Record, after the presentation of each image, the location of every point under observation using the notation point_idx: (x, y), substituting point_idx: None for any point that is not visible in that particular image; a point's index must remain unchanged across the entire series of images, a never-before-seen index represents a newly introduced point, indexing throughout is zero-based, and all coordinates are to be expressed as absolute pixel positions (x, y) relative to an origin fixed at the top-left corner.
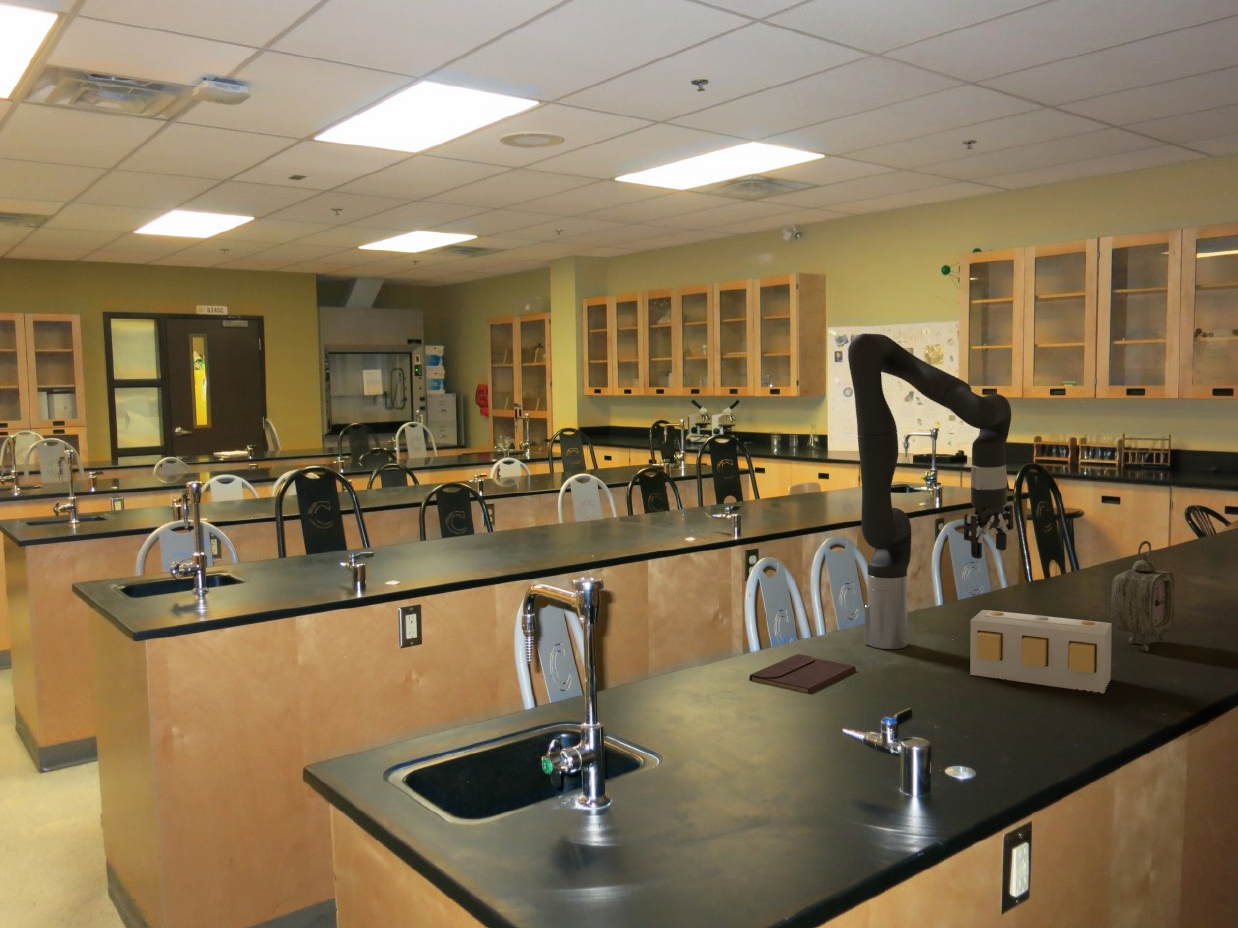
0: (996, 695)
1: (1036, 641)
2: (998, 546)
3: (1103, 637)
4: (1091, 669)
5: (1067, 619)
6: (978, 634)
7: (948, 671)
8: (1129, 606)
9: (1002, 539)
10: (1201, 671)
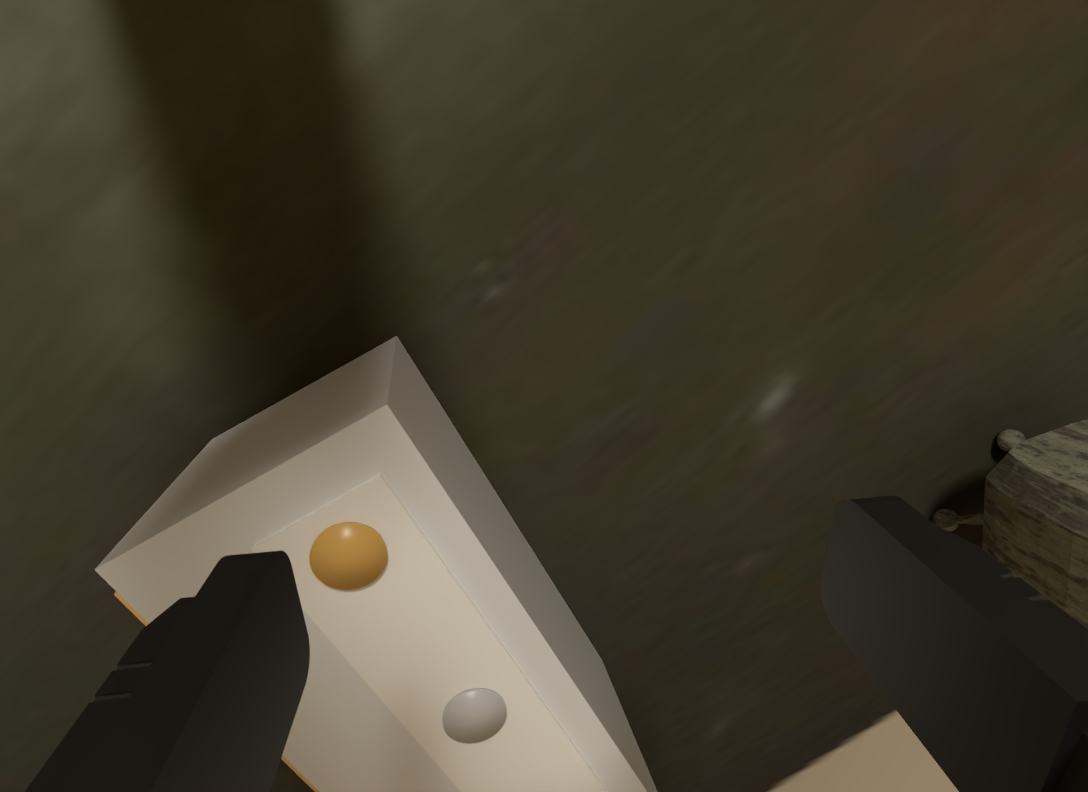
0: (118, 653)
1: (301, 775)
2: (860, 558)
3: None
4: None
5: (564, 761)
6: (120, 599)
7: (153, 362)
8: (1066, 573)
9: (945, 731)
10: (848, 693)
